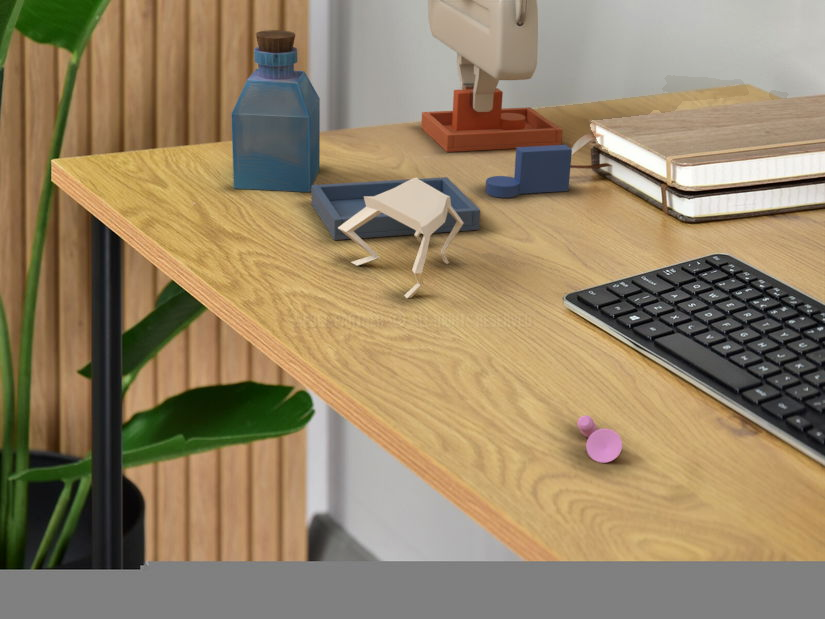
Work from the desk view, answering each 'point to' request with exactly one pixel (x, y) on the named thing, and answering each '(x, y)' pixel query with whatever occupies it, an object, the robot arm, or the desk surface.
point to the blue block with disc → (534, 172)
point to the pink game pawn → (600, 440)
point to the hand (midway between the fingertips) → (475, 106)
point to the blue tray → (349, 200)
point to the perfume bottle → (276, 121)
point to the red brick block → (483, 114)
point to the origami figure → (407, 219)
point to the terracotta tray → (491, 132)
